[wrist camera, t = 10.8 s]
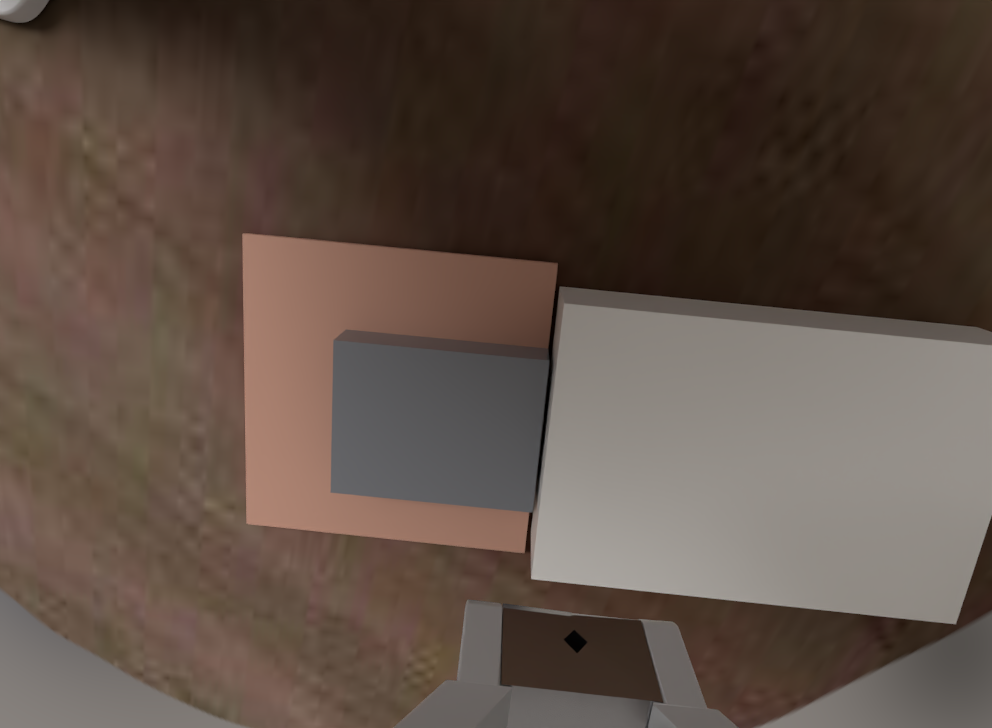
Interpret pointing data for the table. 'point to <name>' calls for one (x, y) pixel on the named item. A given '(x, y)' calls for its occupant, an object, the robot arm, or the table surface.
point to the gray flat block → (437, 419)
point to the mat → (309, 371)
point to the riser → (764, 455)
